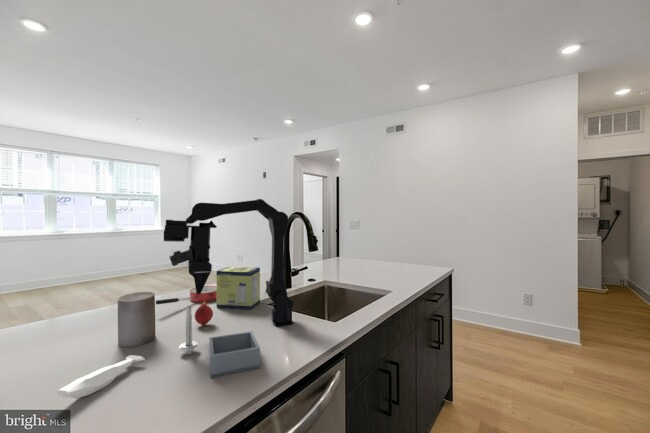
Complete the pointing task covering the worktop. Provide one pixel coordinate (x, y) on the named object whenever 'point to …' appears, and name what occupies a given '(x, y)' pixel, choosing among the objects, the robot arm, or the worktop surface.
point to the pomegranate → (203, 314)
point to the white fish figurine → (96, 379)
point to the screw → (188, 335)
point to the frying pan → (196, 296)
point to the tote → (233, 353)
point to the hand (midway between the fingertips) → (198, 290)
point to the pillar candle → (136, 319)
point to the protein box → (238, 287)
